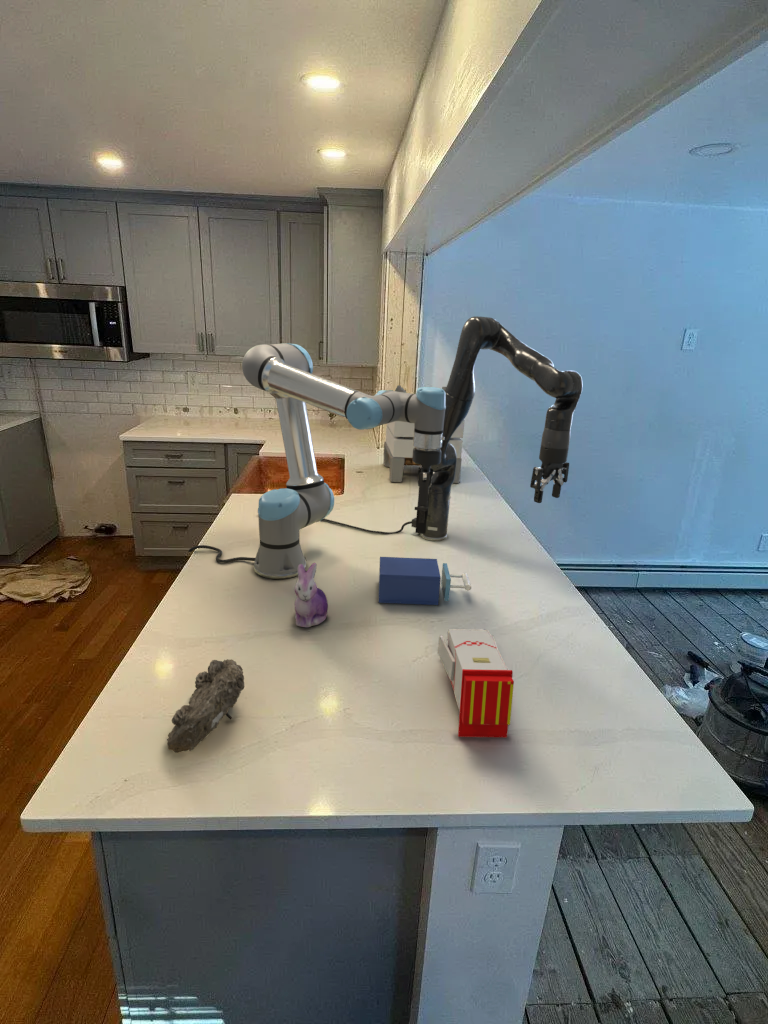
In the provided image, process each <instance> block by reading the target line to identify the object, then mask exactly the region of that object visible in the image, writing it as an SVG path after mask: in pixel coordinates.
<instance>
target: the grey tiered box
mask: <svg viewBox="0 0 768 1024" xmlns="http://www.w3.org/2000/svg"><path fill="white" fill-rule="evenodd" d="M446 387H447V386H442V387H441V389H443V390H444V391H445V389H446ZM394 391H396V392H403V393H407V390H406V389H404V388H403V387H402V385H399V384H398V385H397V386H396V388H395V390H394ZM464 429H465V419H464V420H463V421H462V423H461V424H460V425H459V427H458V428H457V429H456V430H455V432H454V433H453V435H452V436H451V438H450V440H449V443H450V444H451V445H453V447H454V448H455V451H456V455H457V461H456V470H455V477H454V482H453V484H455V483H456V484H459V483H461V472H462V461H463V460H462V453H463V442H464V441H463V440H462V439H463V438H464V431H465V430H464ZM413 438H414V423H409V422H402V421H395V422H391V423H387V424H386V428H385V438H384V442H383V466H384V467H388V468H389V475H388V476H389V477H388V478H389V480H390V482H391V483H402V482H403V475H404V469H405V466H406V467H407V466H411V467H412V466H413V467H415V466H416V467H417V466H418V467H422V466H421V465H420V464H416V463H414V462H413V461H412V456H413V449H414V446H413Z"/></svg>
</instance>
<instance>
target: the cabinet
mask: <svg viewBox="0 0 768 1024" xmlns="http://www.w3.org/2000/svg"><path fill="white" fill-rule="evenodd" d="M440 577H441V573H440V567H439V563H438V558H422V557H398V556H397V557H395V556H379V572H378V604H398V605H399V604H401V605H427V606H439V601H440V593H439V589H440V590H441V582H440Z"/></svg>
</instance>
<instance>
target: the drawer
mask: <svg viewBox="0 0 768 1024" xmlns="http://www.w3.org/2000/svg"><path fill="white" fill-rule="evenodd" d="M452 578H454V579H455V578H456V579H457V578H458V579H459V578H460V579H461V581H462V583H463V584H462V585H459V584H451V583H452ZM451 589H464V590H465V591H466V592H467V591H471V590H472V585H471V581H470V578H469V575H468V573H466V572H463V573H461V574H450V571H449V566H448V563H446V562H442V567H441V576H440V589H439V594H441V593H440V592H441V590H442V596H443V600H444V602H449V601H450V593H451Z"/></svg>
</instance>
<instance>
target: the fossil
mask: <svg viewBox="0 0 768 1024" xmlns="http://www.w3.org/2000/svg"><path fill="white" fill-rule="evenodd" d="M243 670H244V669H243V667H242V665H240V664H237V662H236V661H235V660H234V659H232V658H231V659H227V658H226V659H224V660H223V661H222V660H217V659H212V660H211V661H210V663H209V665H208V666H207V671H201V672H199V673H198V674H197V675H196V676H195V680H194V684H195V685H194V687H195V689H194V690H193V693H192V694H191V697H190V698H189V700H188V704H184V705H182V706H181V707H180V709H177V710H176V711H175V713H174V715H173V716H172V718H171V723H172V724H173V727H172V730H171V731H170V732H168V734H167V738H166V741H167V742H166V745H167V749H168V750H169V751H173V752H174V753H176V754H178V753H182V752H188V751H189V752H192V751H193V750H195V748H196V747H197V746H199V744H200V743H201V742H203V741H204V740H205V739H206V738H207V737H208V736H209V735H210V734H211V733H212V732H214V730H215V729H217V727H218V726H219V724H220V722H221V721H222V720H223V719H224V718H225V716H226V717H227V719H229V720H233V717H232V715H230V714H229V710H230V709H231V708H234V706H235V704H236V703H237V702H238V699H239V697H240V695H241V693H242V691H243V690H245V689H244V688H245V675H244V671H243Z"/></svg>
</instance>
